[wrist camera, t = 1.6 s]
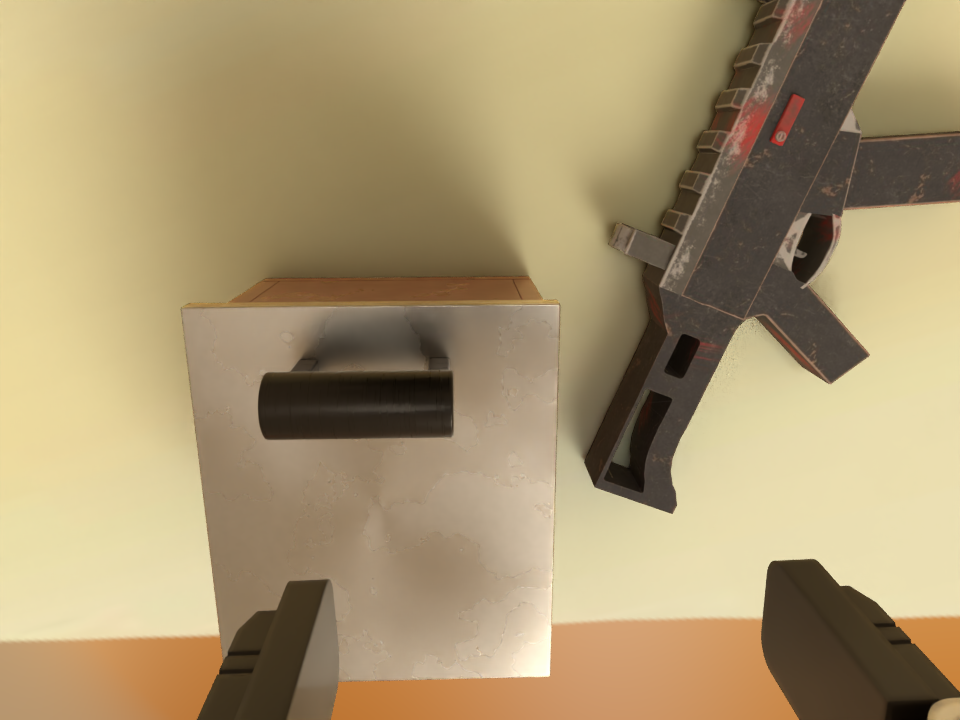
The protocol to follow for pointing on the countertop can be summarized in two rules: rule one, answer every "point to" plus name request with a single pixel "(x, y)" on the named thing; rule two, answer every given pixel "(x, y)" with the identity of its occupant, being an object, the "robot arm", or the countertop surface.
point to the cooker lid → (385, 474)
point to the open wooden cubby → (390, 289)
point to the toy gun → (763, 224)
